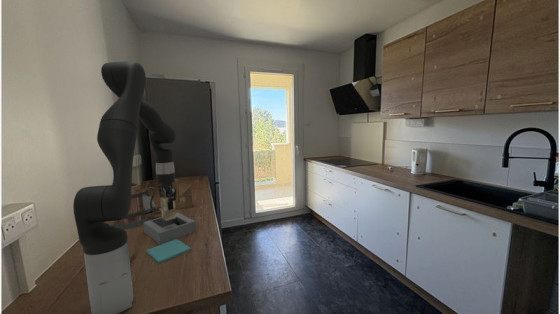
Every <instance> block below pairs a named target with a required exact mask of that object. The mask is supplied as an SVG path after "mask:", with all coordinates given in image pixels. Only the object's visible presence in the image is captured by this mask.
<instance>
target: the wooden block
mask: <svg viewBox="0 0 560 314" xmlns="http://www.w3.org/2000/svg"><path fill="white" fill-rule="evenodd" d="M172 186H173V189H175V188H176V200H175V209H176V210H182V209H191V208H193V194H192V184H191V183H190V184H189V185H188V186H187V187H186V188H185V189H184V190H183V191H182V192H181V194H180V186H179V178H177V179H176V178H175V182H173V183H172ZM180 198H185V201H180Z"/></svg>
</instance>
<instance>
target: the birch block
mask: <svg viewBox="0 0 560 314" xmlns="http://www.w3.org/2000/svg"><path fill="white" fill-rule="evenodd" d="M159 198H160V197H159ZM160 206H161V208H160V211H161V212H162V213H161V217H162V219H164V220H165V221H168V220H171V219H174V218H176V213H177V212H176V210H177V209H175V201H173V209H172V210H168V203H167V198H166V197H161V198H160Z"/></svg>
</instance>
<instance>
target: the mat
mask: <svg viewBox="0 0 560 314" xmlns="http://www.w3.org/2000/svg"><path fill="white" fill-rule="evenodd" d="M191 250H192V248H191V247H190V246H188V245H187V244H185V243H183V242H182V241H180V240H179V239H178V238H177V239H174V240H172V241H169V242H166V243H163V244H161V245H160V244H158V245H157V246H155V247H151V248H148V249H146V250H145V252H146V254H147V255H148V256H149V257H151V258H152V259H153V260H154V261H156V263H157V264H162V263H164V262H166V261H168V260H171V259H174V258H176V257H179V256H180V255H182V254H184V253H187V252H189V251H191Z"/></svg>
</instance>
